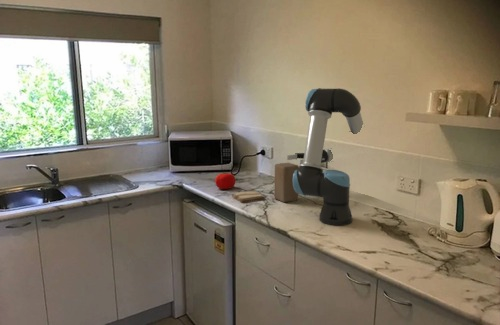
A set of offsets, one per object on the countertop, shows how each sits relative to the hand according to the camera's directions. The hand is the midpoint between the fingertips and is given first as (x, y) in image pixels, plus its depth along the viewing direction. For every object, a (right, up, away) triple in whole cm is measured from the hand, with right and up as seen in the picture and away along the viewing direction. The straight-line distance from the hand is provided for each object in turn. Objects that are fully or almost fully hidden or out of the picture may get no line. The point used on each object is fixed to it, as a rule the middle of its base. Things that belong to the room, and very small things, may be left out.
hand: (293, 159), depth 215 cm
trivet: (-25, -22, +5) cm, 33 cm away
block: (-4, -22, +1) cm, 23 cm away
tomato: (-39, -18, +25) cm, 50 cm away
